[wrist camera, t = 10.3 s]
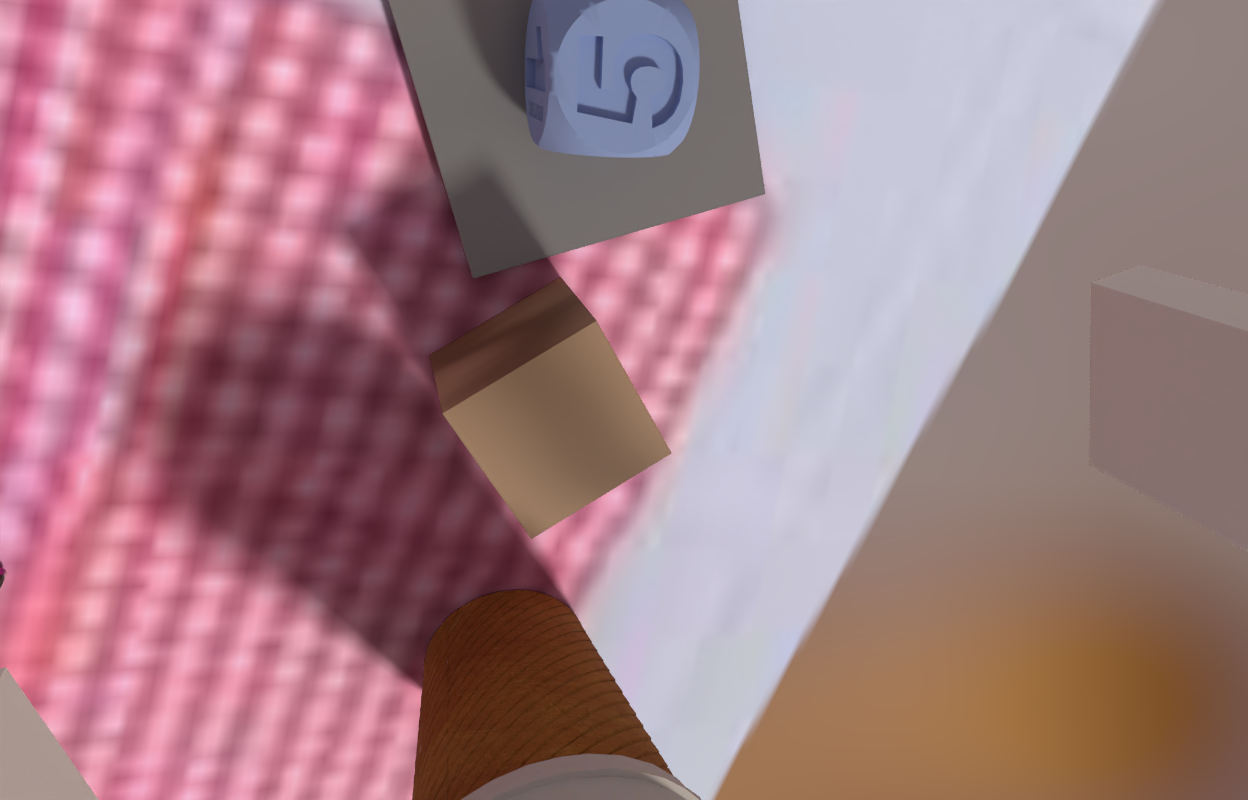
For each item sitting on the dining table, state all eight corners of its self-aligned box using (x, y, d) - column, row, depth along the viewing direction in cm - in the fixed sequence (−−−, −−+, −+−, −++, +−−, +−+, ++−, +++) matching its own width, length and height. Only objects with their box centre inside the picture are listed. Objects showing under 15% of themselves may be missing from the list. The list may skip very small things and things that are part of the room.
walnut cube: (506, 466, 31) (531, 538, 26) (429, 354, 29) (442, 413, 24) (627, 392, 31) (671, 452, 27) (559, 276, 29) (596, 320, 24)
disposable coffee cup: (423, 529, 31) (456, 792, 20) (659, 576, 34) (793, 819, 24) (348, 741, 33) (343, 1074, 23) (575, 764, 37) (663, 1060, 26)
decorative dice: (524, -8, 25) (552, -14, 21) (659, 2, 26) (706, -3, 22) (523, 139, 26) (548, 156, 23) (650, 142, 27) (693, 159, 24)
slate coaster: (470, 273, 28) (473, 278, 27) (365, -75, 24) (365, -77, 23) (757, 190, 29) (765, 193, 29) (708, -150, 25) (715, -154, 25)
